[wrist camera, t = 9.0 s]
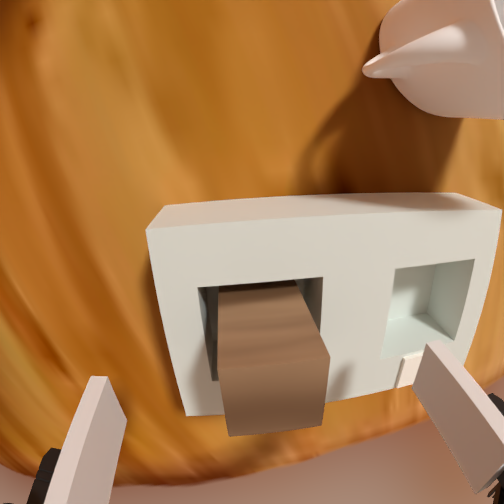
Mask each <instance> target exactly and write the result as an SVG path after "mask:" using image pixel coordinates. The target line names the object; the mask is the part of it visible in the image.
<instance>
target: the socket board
mask: <svg viewBox="0 0 504 504" xmlns="http://www.w3.org/2000/svg"><path fill="white" fill-rule="evenodd" d="M501 215H502V210H501V209H499V208H496V207H494V206H491V205H488V204H486V203H483V202H480V201H478V200H475V199H472V198H469V197H467V196H464V195H461V194H458V193H422V192H414V193H350V194H321V195H299V196H280V197H263V198H248V199H234V200H220V201H208V202H196V203H185V204H175V205H165V206H164V207H163V208H162V210H161V211H160V212H159V213H158V214H157V216H156V217H155V218H154V219H153V221H152V222H151V223H150V224H149V226H148V227H147V228H146V235H147V242H148V248H149V254H150V260H151V266H152V271H153V277H154V282H155V288H156V293H157V298H158V303H159V308H160V312H161V317H162V322H163V326H164V331H165V335H166V340H167V344H168V348H169V352H170V356H171V360H172V364H173V368H174V372H175V376H176V380H177V384H178V387H179V391H180V395H181V398H182V402H183V405H184V409H185V412H186V416H204V415H224V414H225V413H224V407H223V401H222V395H221V389H220V383H219V376H218V370H217V356H218V289H219V286H222V285H234V284H247V283H259V282H270V281H282V280H293V279H294V280H295V282H296V284H297V286H298V288H299V290H300V292H301V294H302V297H303V299H304V301H305V303H306V305H307V307H308V309H309V311H310V314H311V316H312V318H313V320H314V322H315V324H316V327H317V329H318V331H319V333H320V335H321V337H322V340H323V342H324V344H325V346H326V348H327V351H328V353H329V355H330V357H331V358H330V367H329V375H328V383H327V391H326V398H325V403H327V402H332V401H338V400H343V399H348V398H353V397H358V396H362V395H367V394H371V393H376V392H380V391H384V390H388V389H392V388H396V387H397V388H400V387H403V386H407V385H411V384H413V383H414V380H415V377H416V374H417V371H418V368H419V365H420V362H421V359H422V356H423V352H424V349H425V345H426V343H428V342H432V341H436V340H441V341H442V343H443V344H444V345H445V346H446V347H447V348H448V349H449V351H450V352H451V353H452V354H453V355H454V356H455V357H456V359H457V360H458V361H459V362H460V363H461V364H462V366H463V365H464V362H465V360H466V357H467V354H468V352H469V349H470V346H471V343H472V340H473V337H474V334H475V331H476V328H477V325H478V322H479V318H480V315H481V311H482V308H483V304H484V301H485V297H486V293H487V289H488V285H489V281H490V277H491V272H492V268H493V263H494V258H495V253H496V247H497V242H498V236H499V229H500V223H501Z"/></svg>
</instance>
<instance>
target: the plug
mask: <svg viewBox="0 0 504 504" xmlns="http://www.w3.org/2000/svg"><path fill="white" fill-rule="evenodd" d="M330 358H331V357H330V355H329V353H328V351H327V348H326V346H325V344H324V342H323V340H322V337H321V335H320V333H319V331H318V329H317V327H316V324H315V322H314V320H313V318H312V316H311V314H310V311H309V309H308V307H307V305H306V303H305V301H304V299H303V297H302V294H301V292H300V290H299V288H298V286H297V284H296V282H295V280H294V279H293V280H282V281H270V282H259V283H247V284H234V285H222V286H219V289H218V356H217V370H218V376H219V383H220V389H221V395H222V401H223V407H224V413H225V418H226V424H227V429H228V435H229V436H243V435H254V434H264V433H273V432H282V431H289V430H296V429H303V428H309V427H315V426H321V425H322V419H323V413H324V406H325V398H326V391H327V383H328V375H329V367H330Z"/></svg>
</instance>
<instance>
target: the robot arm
mask: <svg viewBox="0 0 504 504" xmlns="http://www.w3.org/2000/svg"><path fill="white" fill-rule="evenodd" d="M412 389H413V391H414V393H415V394H416V396H417V397H418V399H419V400H420V402H421V404H422V405H423V407H424V408H425V410H426V412H427V413H428V415H429V416H430V418H431V420H432V421H433V423H434V424H435V426H436V428H437V429H438V431H439V433H440V434H441V436H442V437H443V439H444V441H445V443H446V444H447V446H448V448H449V449H450V451H451V453H452V454H453V456H454V458H455V460H456V461H457V463H458V465H459V467H460V468H461V470H462V472H463V474H464V475H465V477H466V479H467V480H468V482H469V484H470V486H471V487H472V490H473V491H474V493H475V494H477V493H479V492H480V491H482V490H484V489H485V488H487V487H489V486H490V485H491V484H492V483H493V482H494V481H495V480H496V479H498V481H499V483H498V484H497V485H496V486H495V487H494V488H493V489H492V490H491V491H490V492H489V493H488V497H490V496H491V495H492V494H493V493H494V492H495V494H494V496H493V497H492V498H494V501H493V504H504V402H503V400H502V399H500V398H499V397H497V396H496V395H494V394H493V393H491V394H489V395H486V393H485V392H484V391H483V390H482V389H481V387H480V386H479V385H478V384H477V382H476V381H475V380H474V379H473V378H472V376H471V375H470V374H469V373H468V372H467V370H466V369H465V368H464V367H463V366H462V364H461V363H460V362H459V361H458V360H457V359H456V357H455V356H454V355H453V354H452V353H451V352H450V351H449V349H448V348H447V347H446V346H445V345H444V344H443V343H442V341H441V340H436V341H432V342H428V343H426V345H425V349H424V352H423V356H422V359H421V362H420V365H419V368H418V371H417V374H416V377H415V380H414V383H413V386H412ZM126 423H127V419H126V417H125V415H124V413H123V411H122V408H121V406H120V404H119V402H118V400H117V397H116V395H115V393H114V391H113V388H112V386H111V384H110V381H109V379H108V377H104V376H91V377H90V379H89V382H88V384H87V386H86V389H85V391H84V394H83V396H82V398H81V401H80V403H79V406H78V408H77V411H76V413H75V416H74V418H73V421H72V423H71V426H70V429H69V431H68V434H67V436H66V439H65V442H64V445H63V447H62V450H61V449H56V448H51V449H50V450H49V451H48V452H47V453H46V454H45V455H44V456H43V458H42V461H41V464H40V466H39V471H38V472H37V474H36V479H35V480H34V483H33V486H32V489H31V492H30V495H29V498H28V501H27V504H109V501H110V496H111V491H112V486H113V481H114V476H115V471H116V466H117V462H118V457H119V453H120V448H121V444H122V440H123V436H124V431H125V427H126ZM4 504H12V503H4Z"/></svg>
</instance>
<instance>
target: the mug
mask: <svg viewBox="0 0 504 504" xmlns="http://www.w3.org/2000/svg"><path fill="white" fill-rule="evenodd" d="M379 46H380V54H379V55H377V56H376V57H374V58H373V59H371V60H370V61H368V62H367V63H366V64H365V65H364V66H363V67H362V72H363V74H364V75H366V76H367V77H371V78H391V80H392V82H393V83H394V85H395V86H396V88H397V89H398V90H399V91H400V92H401V94H402V95H403V96H404V97H405V98H406V99H407V100H408V101H409V102H411V103H412V104H413V105H415V106H416V107H418V108H419V109H421V110H423V111H425V112H427V113H430V114H433V115H437V116H442V117H455V118H484V119H501V120H504V0H401V1H400V2H398V3H397V4H396V5H394V6H393V7H392V8H391V9H390V10H389V11H388V13H387V14H386V15H385V17H384V19H383V21H382V24H381V27H380V33H379Z"/></svg>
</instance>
